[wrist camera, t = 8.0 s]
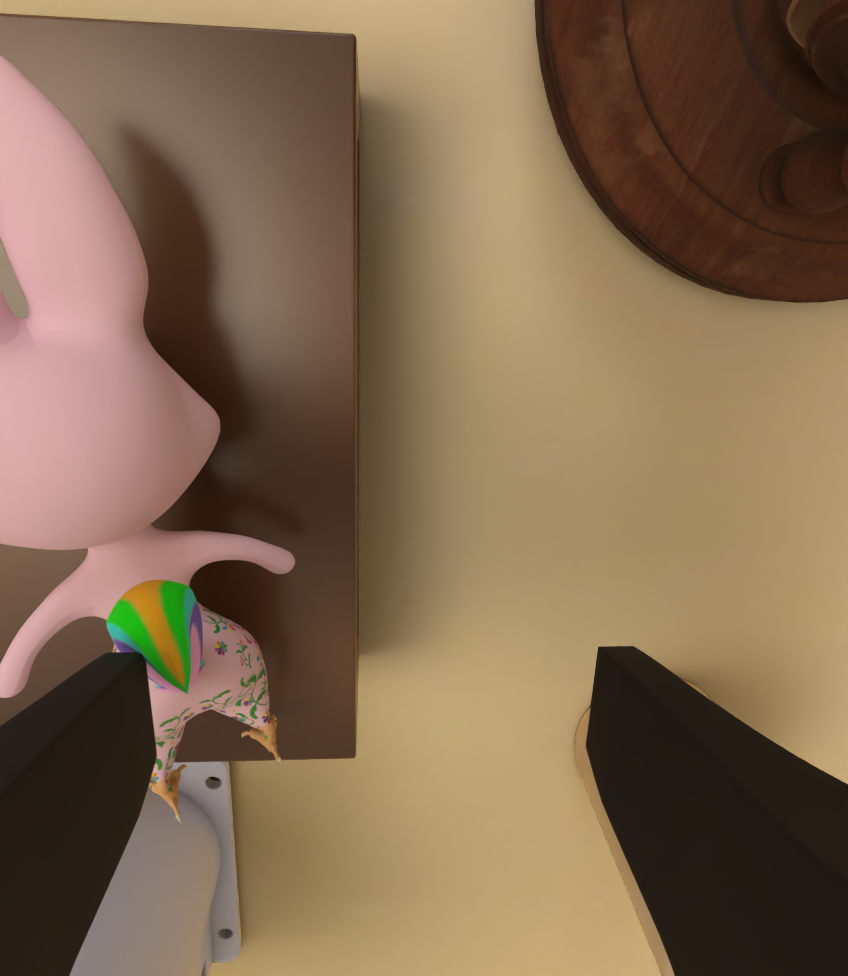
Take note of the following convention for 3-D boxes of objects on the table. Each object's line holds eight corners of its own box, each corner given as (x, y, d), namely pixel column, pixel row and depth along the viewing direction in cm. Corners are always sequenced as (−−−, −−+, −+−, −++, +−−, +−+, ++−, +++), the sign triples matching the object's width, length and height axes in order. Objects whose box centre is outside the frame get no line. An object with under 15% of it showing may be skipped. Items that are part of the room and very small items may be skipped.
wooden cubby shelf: (358, 657, 23) (356, 759, 19) (21, 662, 22) (-73, 769, 18) (359, 92, 18) (356, 32, 13) (-83, 69, 17) (-257, -3, 12)
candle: (663, 817, 26) (825, 1126, 17) (543, 767, 25) (647, 1069, 16) (748, 707, 25) (975, 977, 16) (626, 649, 24) (793, 902, 15)
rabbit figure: (304, 656, 20) (108, 32, 12) (408, 806, 15) (192, -57, 8) (75, 772, 17) (-341, 79, 10) (114, 995, 12) (-625, -11, 5)
